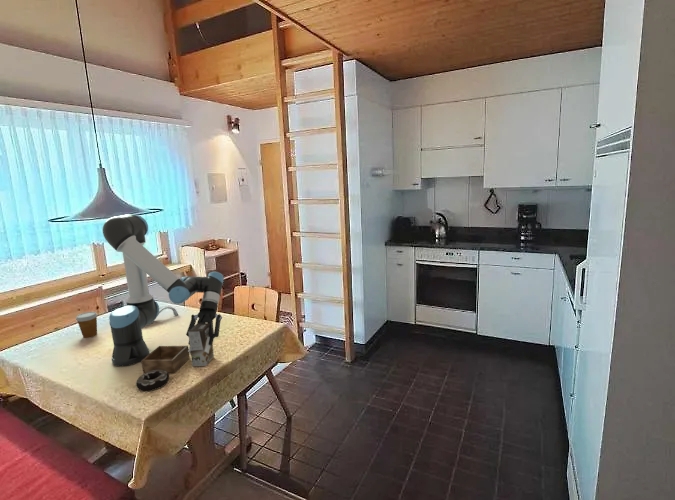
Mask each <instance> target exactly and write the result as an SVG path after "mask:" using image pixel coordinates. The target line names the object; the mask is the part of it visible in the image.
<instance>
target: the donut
mask: <svg viewBox="0 0 675 500" xmlns="http://www.w3.org/2000/svg"><path fill="white" fill-rule="evenodd" d="M169 379H170V376H169V374H168V373H167V372H166V371H164V370H153V371H149V372H147V373H145V374H143V373H142V374H141V375H140V376H139V377H138V378H137V379H136V380H135V381H136V382H135V386H136V388H137V390H140V391H142V392H150V391H154V390H158V389H160V388H162V387H164V386H165V385H166V384H167V383H168V381H169Z"/></svg>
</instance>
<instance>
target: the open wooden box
mask: <svg viewBox="0 0 675 500" xmlns="http://www.w3.org/2000/svg"><path fill="white" fill-rule="evenodd" d="M188 350H189V345H159V346H157V347H156V348H155V349H154V350H152V351H151V352H150V354H149V355H148V356H146V357H145V358H144V359H143V360H142V361H141V367H142V375H143V374H145V373H147V372H149V371H153V370H164V371H166V372H167V373H168V374H170V375H172V374H173V375H175V374H176V373H177V372H178V371H179V370H180V369H181V368H182V367H183V366H184V365H185V363H187V361H189V360H190V358H191V355H190V353H189V352H188Z"/></svg>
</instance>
